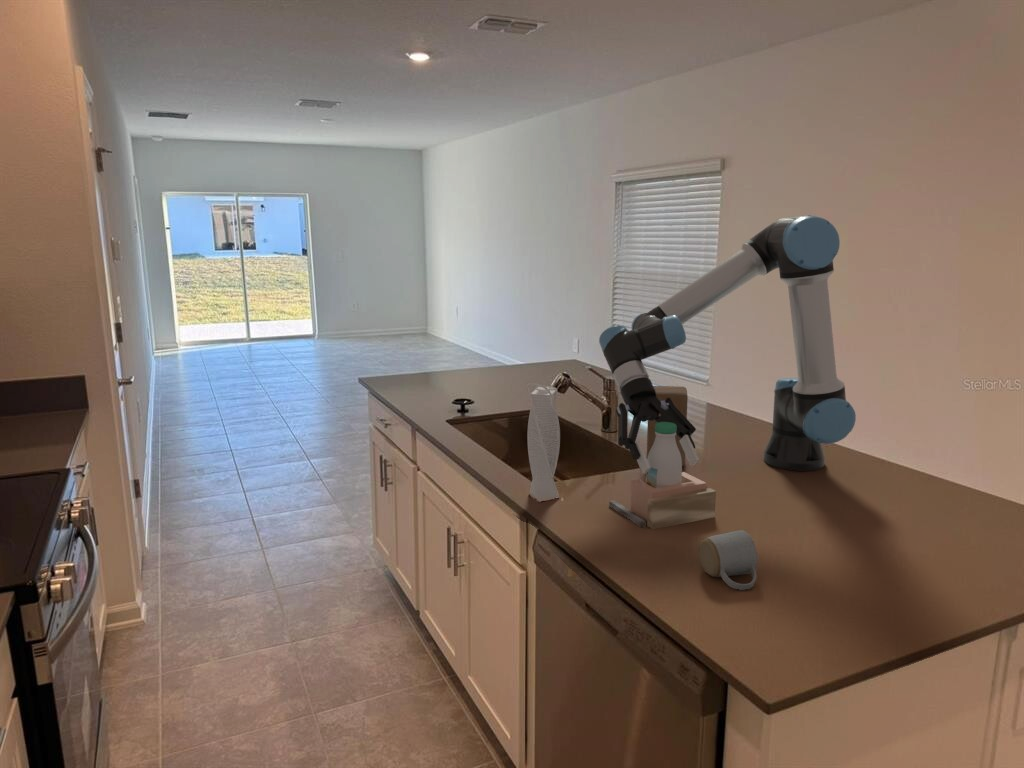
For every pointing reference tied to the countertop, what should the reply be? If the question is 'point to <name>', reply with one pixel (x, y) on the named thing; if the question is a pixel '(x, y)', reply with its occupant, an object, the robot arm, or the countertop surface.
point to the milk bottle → (664, 457)
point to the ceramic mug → (730, 557)
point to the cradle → (660, 492)
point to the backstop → (674, 509)
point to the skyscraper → (543, 441)
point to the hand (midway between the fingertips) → (671, 467)
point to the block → (662, 393)
